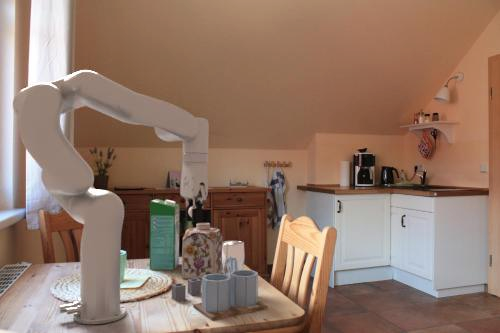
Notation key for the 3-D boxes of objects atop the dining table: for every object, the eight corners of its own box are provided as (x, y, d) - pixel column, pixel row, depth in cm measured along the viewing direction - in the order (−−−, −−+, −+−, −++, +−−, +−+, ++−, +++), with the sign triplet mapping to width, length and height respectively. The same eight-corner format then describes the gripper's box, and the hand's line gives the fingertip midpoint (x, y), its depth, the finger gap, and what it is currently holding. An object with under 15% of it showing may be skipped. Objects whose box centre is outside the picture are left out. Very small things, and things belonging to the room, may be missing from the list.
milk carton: (174, 269, 153) (175, 200, 152) (149, 269, 153) (150, 200, 153) (178, 264, 162) (179, 198, 161) (155, 263, 162) (156, 198, 162)
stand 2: (191, 295, 123) (191, 281, 123) (187, 292, 126) (187, 279, 126) (200, 293, 125) (201, 280, 125) (196, 291, 127) (196, 278, 127)
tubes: (210, 314, 106) (210, 282, 106) (198, 306, 112) (198, 275, 112) (262, 304, 114) (262, 274, 114) (247, 296, 120) (248, 268, 120)
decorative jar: (215, 281, 139) (215, 226, 139) (181, 279, 141) (181, 225, 141) (223, 272, 151) (223, 221, 150) (191, 270, 152) (192, 220, 152)
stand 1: (175, 301, 118) (175, 287, 118) (171, 298, 121) (171, 284, 121) (185, 299, 120) (185, 285, 120) (181, 296, 122) (181, 282, 122)
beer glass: (241, 296, 122) (241, 245, 122) (218, 295, 124) (218, 244, 124) (246, 290, 129) (246, 241, 129) (224, 288, 131) (224, 240, 131)
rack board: (211, 320, 104) (211, 315, 104) (193, 307, 113) (193, 303, 113) (267, 308, 113) (267, 304, 113) (245, 297, 122) (246, 293, 122)
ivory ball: (191, 218, 123) (191, 206, 123) (186, 217, 126) (186, 205, 126) (202, 218, 125) (202, 206, 125) (197, 216, 128) (197, 205, 128)
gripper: (172, 159, 130) (171, 219, 130) (195, 159, 116) (194, 225, 116) (195, 160, 134) (194, 217, 134) (219, 159, 120) (218, 224, 120)
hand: (194, 220), depth 125 cm, fingers closed on ivory ball, 3 cm apart
